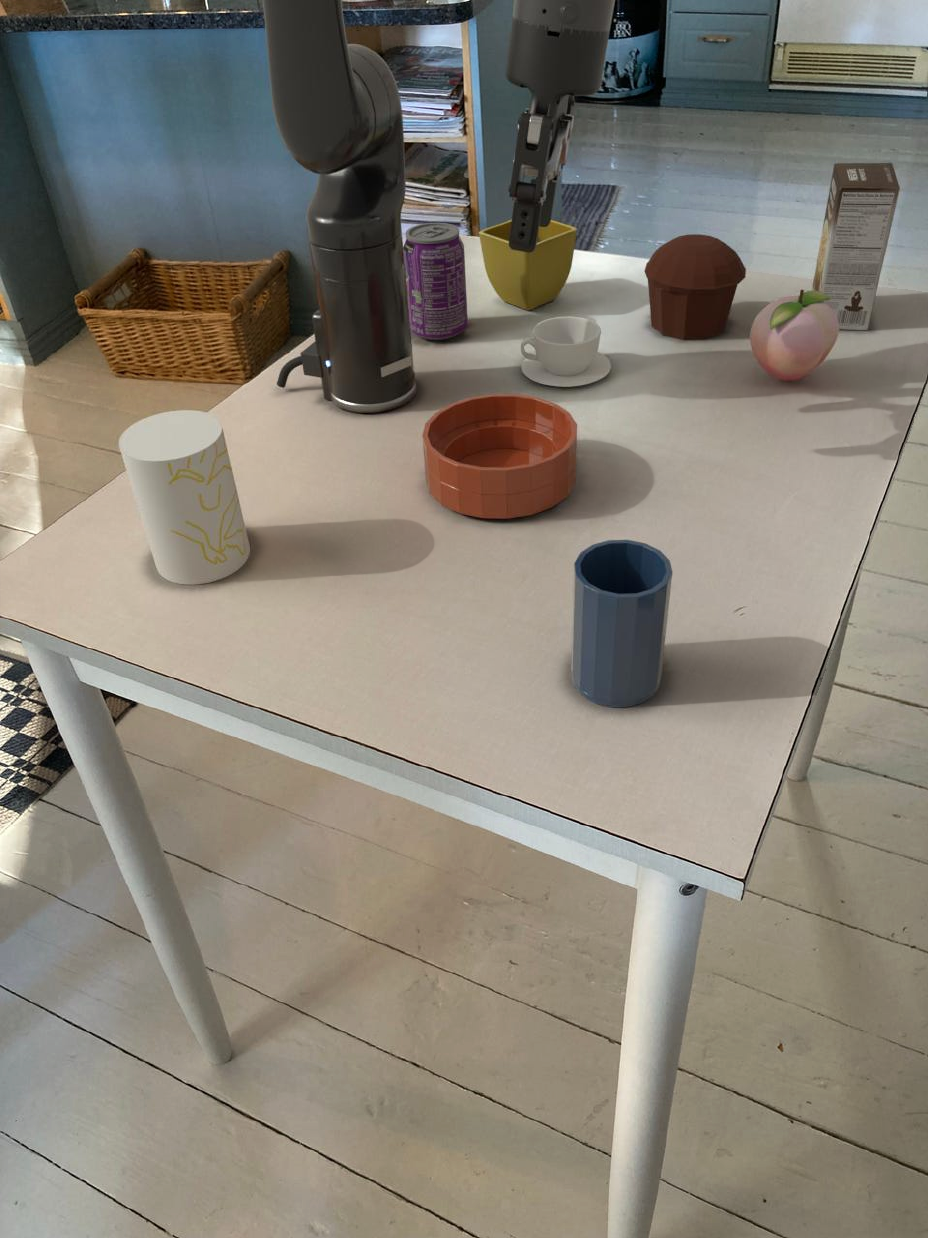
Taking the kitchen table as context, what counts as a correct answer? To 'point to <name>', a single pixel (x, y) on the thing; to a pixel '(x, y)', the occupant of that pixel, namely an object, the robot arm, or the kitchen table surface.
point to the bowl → (500, 455)
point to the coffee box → (855, 239)
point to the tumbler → (619, 621)
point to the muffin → (692, 286)
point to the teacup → (565, 353)
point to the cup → (186, 495)
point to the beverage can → (435, 281)
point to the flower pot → (528, 264)
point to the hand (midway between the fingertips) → (529, 236)
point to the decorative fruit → (794, 334)
